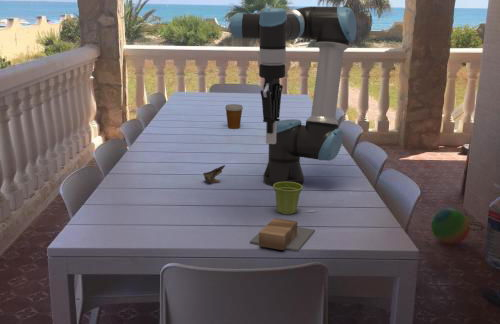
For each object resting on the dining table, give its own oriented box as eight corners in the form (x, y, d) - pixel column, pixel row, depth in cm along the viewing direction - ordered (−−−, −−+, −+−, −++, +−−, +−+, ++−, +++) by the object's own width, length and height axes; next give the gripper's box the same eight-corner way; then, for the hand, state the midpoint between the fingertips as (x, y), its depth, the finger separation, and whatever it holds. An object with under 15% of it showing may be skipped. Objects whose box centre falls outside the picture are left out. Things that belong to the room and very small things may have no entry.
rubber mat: (269, 224, 179) (270, 222, 178) (314, 231, 174) (314, 229, 173) (249, 243, 164) (249, 241, 164) (297, 251, 159) (298, 249, 159)
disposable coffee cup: (223, 126, 320) (223, 104, 317) (239, 125, 323) (240, 103, 320) (227, 130, 311) (227, 107, 308) (245, 129, 314) (245, 106, 311)
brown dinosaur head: (222, 182, 224) (223, 164, 223) (225, 184, 218) (226, 166, 217) (201, 181, 222) (202, 163, 221) (204, 183, 216) (205, 165, 215)
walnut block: (274, 218, 171) (259, 232, 160) (297, 221, 168) (283, 236, 158) (274, 231, 172) (258, 245, 161) (297, 234, 169) (283, 250, 159)
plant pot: (299, 206, 195) (300, 181, 192) (303, 216, 186) (304, 190, 183) (271, 206, 194) (272, 181, 192) (273, 216, 185) (274, 190, 183)
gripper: (267, 60, 177) (266, 137, 184) (251, 65, 166) (251, 147, 172) (291, 61, 175) (289, 139, 181) (277, 66, 163) (275, 149, 169)
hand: (271, 143), depth 177 cm, fingers closed
